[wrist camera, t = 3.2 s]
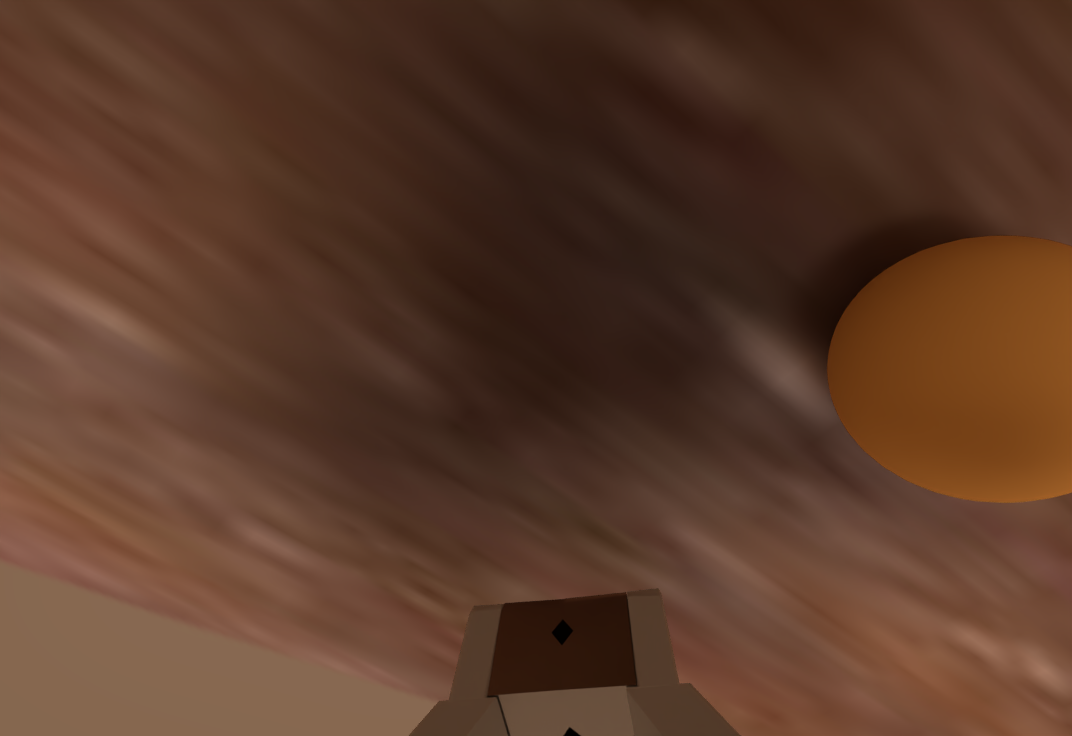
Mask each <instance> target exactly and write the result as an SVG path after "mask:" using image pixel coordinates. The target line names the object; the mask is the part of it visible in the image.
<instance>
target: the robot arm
mask: <svg viewBox="0 0 1072 736" xmlns="http://www.w3.org/2000/svg"><path fill="white" fill-rule="evenodd" d="M627 598H628V599H627ZM409 736H740V735H739V733H738V732H737V731H736V730H735V729H734V728H733V727H732V726H731V725H730V724H729V723H728V722H727V721H726V720H725V719H724V718H723V717H722V716H721V715H720V714H719V713H718V712H717V711H716V710H715V708H714V707H713V706H712V705H711V704H710V703H709V702H708V701H707V700H706V699H705V698H704V697H703V696H702V695H701V694H700V693H699V692H698V691H697V690H696V689H695V688H694V687H693V686H692V685H691V683H684V684H679V679H678V674H677V669H676V664H675V659H674V654H673V649H672V644H671V639H670V634H669V629H668V624H667V619H666V614H665V610H664V605H663V600H662V595H661V592H660V591H659V589H658V588H657V589H648V590H639V591H630V592H627V594H626V592H623V593H613V594H604V595H594V596H585V597H575V598H566V599H558V600H543V601H529V602H514V603H505V604H497V605H481V606H474V608H473V609H472V611H471V612H470V614H469V618H468V622H467V626H466V630H465V634H464V638H463V643H462V647H461V651H460V655H459V659H458V663H457V668H456V672H455V676H454V680H453V684H452V688H451V693H450V697H449V700H446V701H439V702H438V703H437V704H436V705H435V706H434V707H433V709H432V710H431V711H430V712H429V713H428V714H427V716H426V717H425V718H424V719H423V720H422V721H421V722H420V723H419V725H418V726H417V727H416V728H415V729H414V730H413V731H412V733H411V734H410V735H409Z"/></svg>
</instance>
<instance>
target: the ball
mask: <svg viewBox="0 0 1072 736" xmlns="http://www.w3.org/2000/svg"><path fill="white" fill-rule="evenodd" d="M827 375H828V384H829V389H830V394H831V398H832V402H833V404H834V407H835V409H836V411H837V414H838V416H839V418H840V420H841V422H842V423H843V425H844V426H845V428H846V430H847V431H848V433H849V434H850V435H851V436H852V438H853V439H854V440H855V441H856V442H857V443H858V445H859V446H860V447H861V448H862V449H863V450H864V451H865V452H866V453H867V454H868V455H870V456H871V457H872V458H873V459H874V460H876V461H877V462H878V463H879V464H880V465H882V466H883V467H884V468H886V469H888V470H889V471H891V472H893V473H894V474H896V475H898V476H899V477H901V478H903V479H905V480H906V481H908V482H911V483H913V484H916V485H918V486H920V487H923V488H925V489H928V490H930V491H933V492H936V493H940V494H944V495H947V496H951V497H956V498H960V499H966V500H973V501H982V502H1000V503H1012V502H1026V501H1034V500H1041V499H1048V498H1053V497H1057V496H1061V495H1065V494H1068V493H1071V492H1072V246H1069V245H1066V244H1062V243H1059V242H1055V241H1052V240H1046V239H1040V238H1033V237H1024V236H999V235H997V236H983V237H974V238H965V239H961V240H956V241H952V242H947V243H944V244H940V245H936V246H933V247H930V248H928V249H925V250H922V251H919V252H917V253H915V254H913V255H911V256H909V257H907V258H904V259H903V260H901V261H899V262H897V263H896V264H894V265H892V266H891V267H889V268H887V269H886V270H884V271H883V272H882V273H880V274H879V275H878V276H876V277H875V278H874V279H872V280H871V281H870V282H869V283H868V284H867V285H866V286H865V287H864V288H863V289H862V290H861V291H860V292H859V293H858V294H857V295H856V296H855V298H854V299H853V300H852V301H851V302H850V304H849V305H848V307H847V308H846V310H845V311H844V313H843V314H842V316H841V318H840V320H839V322H838V324H837V326H836V328H835V331H834V334H833V336H832V340H831V344H830V348H829V353H828V363H827Z"/></svg>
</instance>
